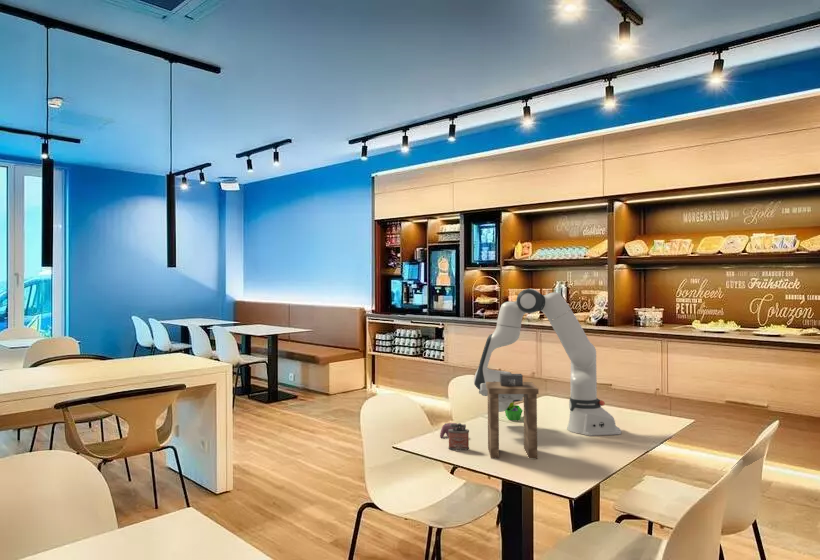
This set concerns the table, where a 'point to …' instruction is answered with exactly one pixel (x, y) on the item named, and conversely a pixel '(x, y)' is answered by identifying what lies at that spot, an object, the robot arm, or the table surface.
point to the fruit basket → (513, 412)
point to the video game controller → (446, 429)
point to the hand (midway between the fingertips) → (505, 382)
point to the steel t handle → (511, 379)
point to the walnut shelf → (529, 416)
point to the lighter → (458, 437)
